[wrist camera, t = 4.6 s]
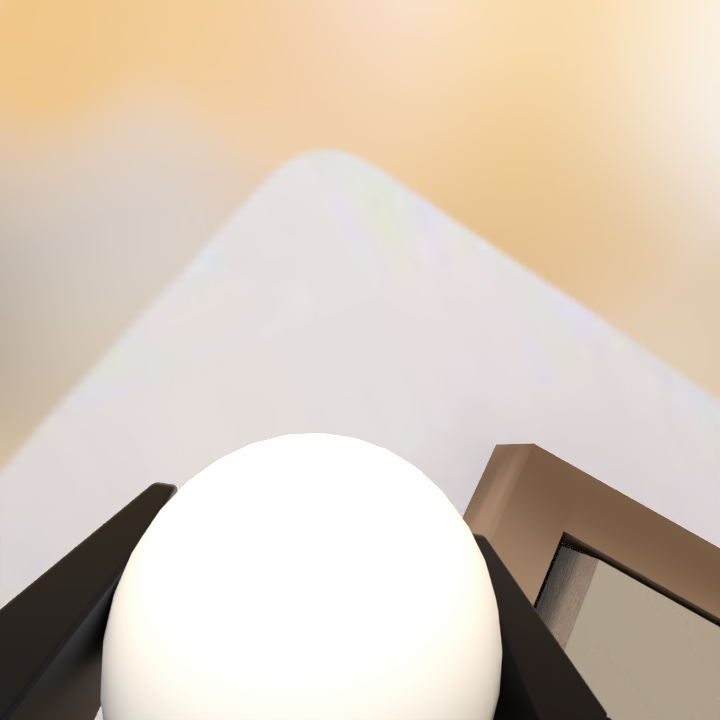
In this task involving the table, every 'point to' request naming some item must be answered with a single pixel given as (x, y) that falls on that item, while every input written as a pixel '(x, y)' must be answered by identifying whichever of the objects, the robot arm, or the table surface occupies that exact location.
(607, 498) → the brown picture frame
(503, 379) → the table surface
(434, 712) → the lightbulb
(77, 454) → the table surface
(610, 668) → the platform
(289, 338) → the table surface
